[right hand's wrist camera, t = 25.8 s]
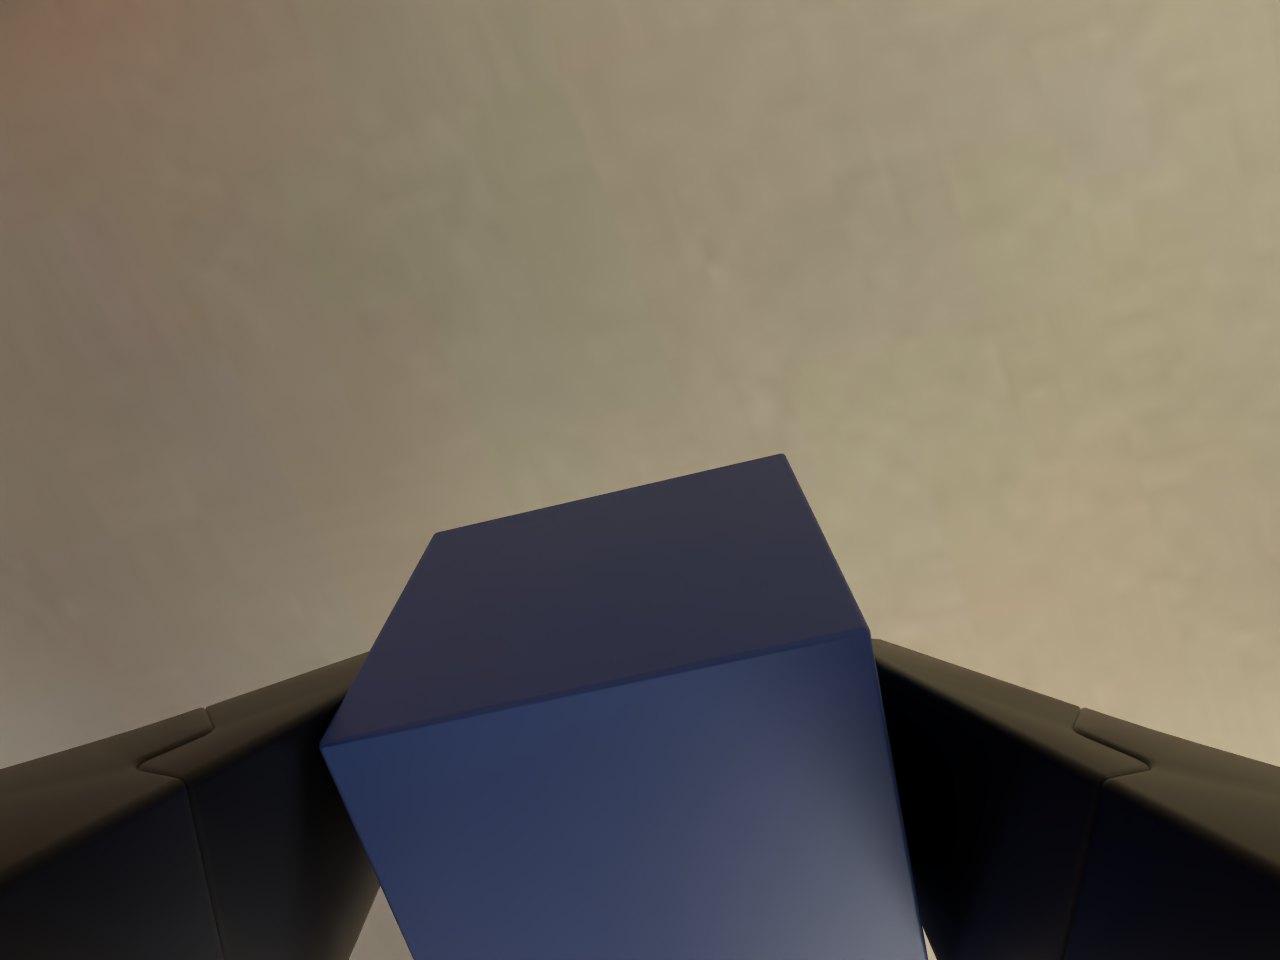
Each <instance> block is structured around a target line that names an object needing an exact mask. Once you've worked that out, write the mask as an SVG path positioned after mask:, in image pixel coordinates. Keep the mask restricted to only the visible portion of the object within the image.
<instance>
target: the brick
mask: <svg viewBox="0 0 1280 960" xmlns="http://www.w3.org/2000/svg"><path fill="white" fill-rule="evenodd" d="M319 749H320V751H321V754H322V756H323V758H324V760H325V763H326V765H327V767H328V769H329V772H330V774H331V776H332V778H333V781H334V783H335V785H336V787H337V789H338V792H339V794H340V796H341V798H342V801H343V803H344V805H345V807H346V810H347V812H348V814H349V816H350V818H351V821H352V823H353V825H354V827H355V830H356V832H357V834H358V836H359V839H360V841H361V843H362V845H363V848H364V850H365V852H366V854H367V856H368V859H369V861H370V863H371V865H372V868H373V870H374V872H375V874H376V877H377V879H378V881H379V883H380V886H381V888H382V890H383V892H384V894H385V897H386V899H387V901H388V903H389V906H390V908H391V910H392V912H393V915H394V917H395V919H396V921H397V924H398V926H399V928H400V930H401V932H402V935H403V937H404V939H405V941H406V944H407V946H408V948H409V950H410V953H411V955H412V957H413V959H414V960H928V956H927V951H926V945H925V939H924V934H923V928H922V922H921V917H920V911H919V905H918V900H917V894H916V888H915V883H914V877H913V871H912V866H911V860H910V854H909V849H908V843H907V837H906V832H905V826H904V820H903V815H902V809H901V804H900V798H899V792H898V787H897V781H896V775H895V770H894V764H893V758H892V753H891V747H890V741H889V736H888V730H887V724H886V719H885V713H884V707H883V702H882V696H881V690H880V685H879V679H878V673H877V668H876V662H875V656H874V651H873V645H872V639H871V634H870V630H869V627H868V625H867V623H866V621H865V619H864V617H863V615H862V613H861V611H860V609H859V607H858V605H857V603H856V601H855V599H854V597H853V594H852V592H851V590H850V588H849V586H848V584H847V582H846V580H845V578H844V576H843V574H842V572H841V570H840V568H839V566H838V563H837V561H836V559H835V557H834V555H833V553H832V551H831V549H830V547H829V545H828V543H827V541H826V539H825V537H824V535H823V533H822V530H821V528H820V526H819V524H818V522H817V520H816V518H815V516H814V514H813V512H812V510H811V508H810V506H809V504H808V502H807V500H806V497H805V495H804V493H803V491H802V489H801V487H800V485H799V483H798V481H797V479H796V477H795V475H794V473H793V471H792V469H791V466H790V464H789V462H788V460H787V458H786V456H785V455H784V454H777V455H773V456H768V457H764V458H760V459H755V460H751V461H747V462H742V463H738V464H734V465H729V466H725V467H721V468H716V469H712V470H707V471H703V472H699V473H694V474H690V475H686V476H681V477H677V478H673V479H668V480H664V481H660V482H655V483H651V484H647V485H642V486H638V487H634V488H629V489H625V490H620V491H616V492H612V493H607V494H603V495H599V496H594V497H590V498H586V499H581V500H577V501H573V502H568V503H564V504H560V505H555V506H551V507H547V508H542V509H538V510H533V511H529V512H525V513H520V514H516V515H512V516H507V517H503V518H499V519H494V520H490V521H486V522H481V523H477V524H473V525H468V526H464V527H460V528H455V529H451V530H446V531H442V532H438V533H435V534H434V536H433V538H432V539H431V541H430V543H429V545H428V547H427V548H426V550H425V552H424V554H423V556H422V557H421V559H420V561H419V563H418V565H417V567H416V568H415V570H414V572H413V574H412V576H411V577H410V579H409V581H408V583H407V585H406V586H405V588H404V590H403V592H402V594H401V596H400V597H399V599H398V601H397V603H396V605H395V606H394V608H393V610H392V612H391V614H390V615H389V617H388V619H387V621H386V623H385V625H384V626H383V628H382V630H381V632H380V634H379V635H378V637H377V639H376V641H375V643H374V644H373V646H372V648H371V650H370V652H369V653H368V655H367V657H366V659H365V661H364V663H363V664H362V666H361V668H360V670H359V672H358V673H357V675H356V677H355V679H354V681H353V682H352V684H351V686H350V688H349V690H348V692H347V693H346V695H345V697H344V699H343V701H342V702H341V704H340V706H339V708H338V710H337V711H336V713H335V715H334V717H333V719H332V721H331V722H330V724H329V726H328V728H327V730H326V731H325V733H324V735H323V737H322V739H321V740H320V742H319Z"/></svg>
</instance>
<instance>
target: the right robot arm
mask: <svg viewBox="0 0 1280 960" xmlns="http://www.w3.org/2000/svg"><path fill="white" fill-rule="evenodd" d="M872 645H873V651H874V656H875V662H876V668H877V673H878V679H879V685H880V690H881V696H882V702H883V707H884V713H885V719H886V724H887V730H888V736H889V741H890V747H891V753H892V758H893V764H894V770H895V775H896V781H897V787H898V792H899V798H900V804H901V809H902V815H903V820H904V826H905V832H906V837H907V843H908V849H909V854H910V860H911V866H912V871H913V877H914V883H915V888H916V894H917V900H918V905H919V911H920V917H921V922H922V926H923V929H924V931H925V933H926V936H927V938H928V940H929V943H930V945H931V947H932V949H933V952H934V954H935V956H936V959H937V960H1280V767H1278V766H1274V765H1271V764H1267V763H1264V762H1260V761H1257V760H1253V759H1250V758H1247V757H1243V756H1240V755H1236V754H1233V753H1229V752H1226V751H1222V750H1219V749H1215V748H1212V747H1209V746H1205V745H1202V744H1198V743H1195V742H1192V741H1188V740H1185V739H1182V738H1178V737H1175V736H1172V735H1168V734H1165V733H1162V732H1159V731H1155V730H1152V729H1149V728H1146V727H1143V726H1139V725H1136V724H1133V723H1130V722H1127V721H1124V720H1121V719H1118V718H1115V717H1112V716H1109V715H1106V714H1103V713H1100V712H1097V711H1094V710H1091V709H1088V708H1082V709H1080V708H1079V707H1078V706H1075V705H1072V704H1069V703H1067V702H1064V701H1061V700H1058V699H1055V698H1052V697H1049V696H1046V695H1043V694H1040V693H1037V692H1034V691H1031V690H1028V689H1025V688H1022V687H1019V686H1016V685H1013V684H1010V683H1007V682H1004V681H1001V680H999V679H996V678H993V677H990V676H987V675H984V674H981V673H978V672H975V671H972V670H969V669H966V668H963V667H960V666H957V665H954V664H951V663H948V662H945V661H942V660H939V659H936V658H933V657H930V656H928V655H925V654H922V653H919V652H916V651H913V650H910V649H907V648H904V647H901V646H898V645H895V644H892V643H889V642H886V641H883V640H880V639H872ZM369 652H370V651H369ZM369 652H366V653H363V654H360V655H357V656H354V657H351V658H348V659H345V660H342V661H340V662H337V663H334V664H331V665H328V666H325V667H322V668H319V669H316V670H313V671H310V672H307V673H304V674H301V675H299V676H296V677H293V678H290V679H287V680H284V681H281V682H278V683H275V684H272V685H269V686H266V687H263V688H260V689H257V690H255V691H252V692H249V693H246V694H243V695H240V696H237V697H234V698H231V699H228V700H225V701H222V702H219V703H216V704H214V705H211V706H208V707H207V708H206V709H204V708H198V709H195V710H192V711H190V712H187V713H184V714H181V715H178V716H175V717H172V718H169V719H165V720H162V721H159V722H156V723H153V724H150V725H147V726H144V727H141V728H138V729H135V730H131V731H128V732H125V733H122V734H118V735H115V736H112V737H108V738H105V739H102V740H99V741H95V742H92V743H89V744H85V745H82V746H79V747H75V748H72V749H68V750H65V751H61V752H58V753H55V754H51V755H48V756H44V757H41V758H37V759H34V760H31V761H27V762H24V763H20V764H17V765H13V766H10V767H7V768H3V769H0V960H349V957H350V955H351V953H352V950H353V948H354V946H355V943H356V941H357V939H358V936H359V934H360V932H361V929H362V927H363V925H364V922H365V920H366V918H367V915H368V913H369V911H370V908H371V906H372V904H373V902H374V899H375V897H376V895H377V892H378V890H379V888H380V883H379V881H378V879H377V877H376V874H375V872H374V870H373V868H372V865H371V863H370V861H369V859H368V856H367V854H366V852H365V850H364V848H363V845H362V843H361V841H360V839H359V836H358V834H357V832H356V830H355V827H354V825H353V823H352V821H351V818H350V816H349V814H348V812H347V810H346V807H345V805H344V803H343V801H342V798H341V796H340V794H339V792H338V789H337V787H336V785H335V783H334V781H333V778H332V776H331V774H330V772H329V769H328V767H327V765H326V763H325V760H324V758H323V756H322V754H321V751H320V749H319V742H320V740H321V739H322V737H323V735H324V733H325V731H326V730H327V728H328V726H329V724H330V722H331V721H332V719H333V717H334V715H335V713H336V711H337V710H338V708H339V706H340V704H341V702H342V701H343V699H344V697H345V695H346V693H347V692H348V690H349V688H350V686H351V684H352V682H353V681H354V679H355V677H356V675H357V673H358V672H359V670H360V668H361V666H362V664H363V663H364V661H365V659H366V657H367V655H368V653H369Z"/></svg>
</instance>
